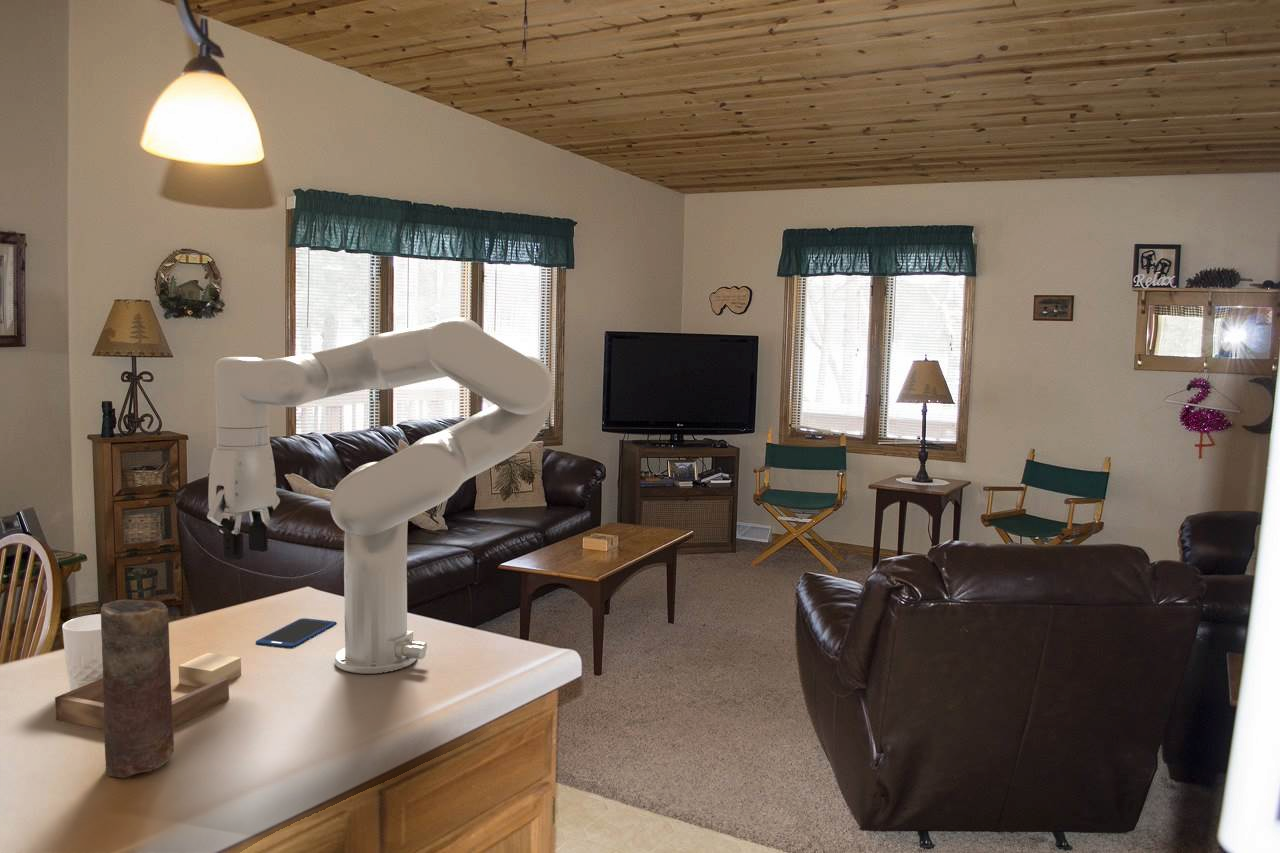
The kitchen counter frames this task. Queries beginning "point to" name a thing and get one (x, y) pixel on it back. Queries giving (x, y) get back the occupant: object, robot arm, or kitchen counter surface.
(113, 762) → the candle
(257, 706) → the kitchen counter surface
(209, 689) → the corral
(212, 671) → the tan square block
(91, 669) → the white cup
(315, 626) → the cell phone
